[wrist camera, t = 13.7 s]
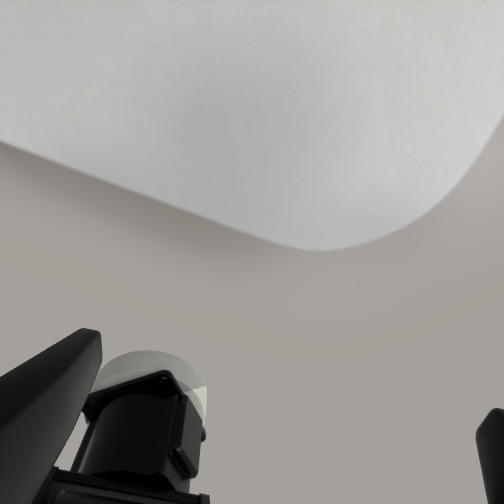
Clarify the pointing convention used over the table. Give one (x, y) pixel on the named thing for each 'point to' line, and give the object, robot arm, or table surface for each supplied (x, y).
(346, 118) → the table surface
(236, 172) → the table surface
